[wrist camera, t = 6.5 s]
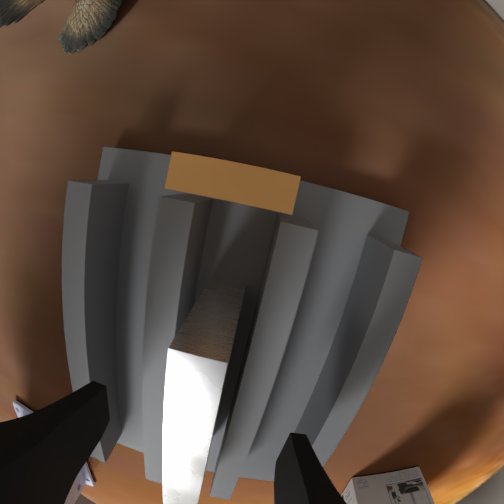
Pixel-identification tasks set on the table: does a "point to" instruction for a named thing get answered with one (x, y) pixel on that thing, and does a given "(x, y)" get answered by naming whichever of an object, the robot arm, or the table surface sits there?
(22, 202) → the table surface
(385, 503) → the light bulb box
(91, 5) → the eagle figurine
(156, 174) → the slot rack
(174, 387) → the panel
